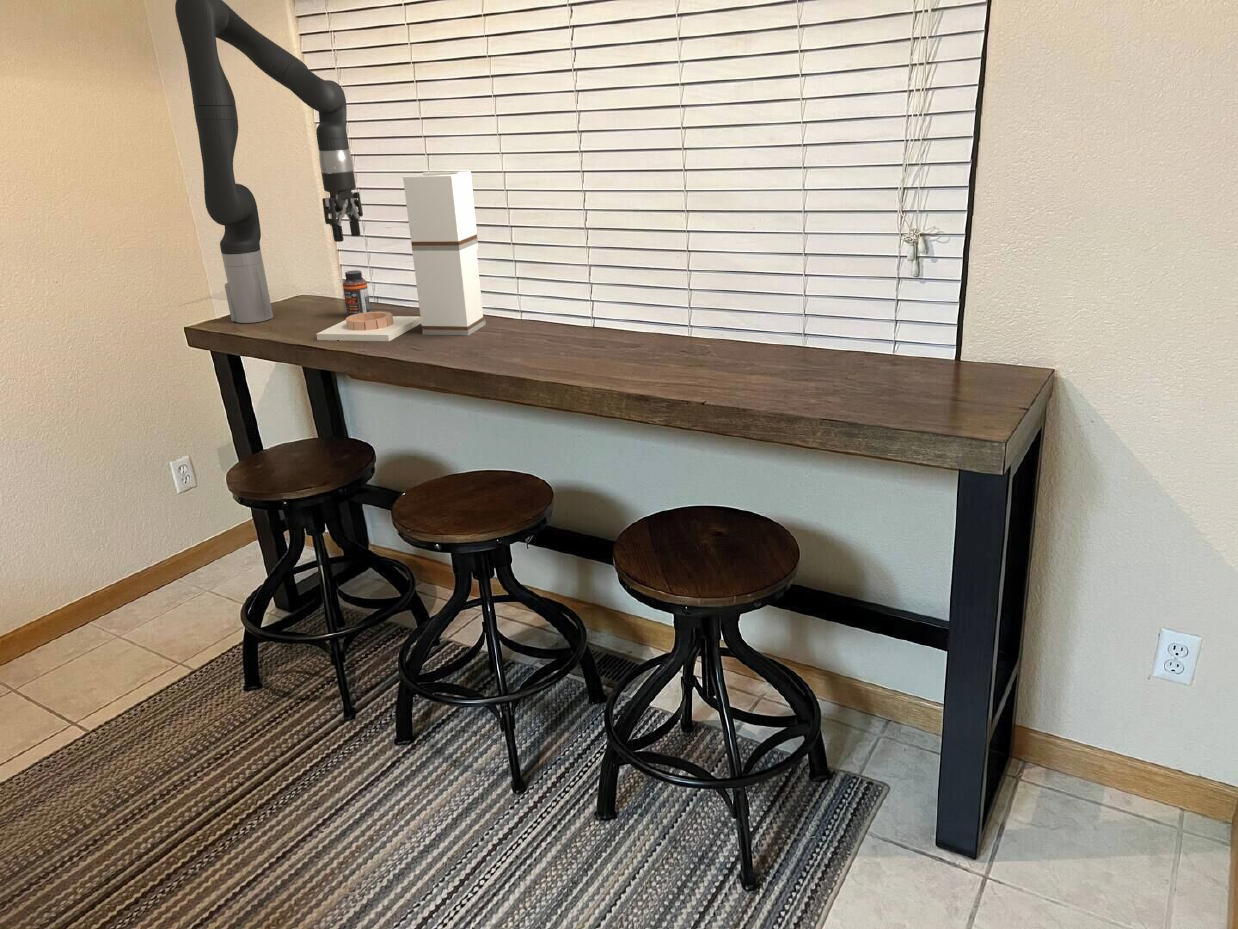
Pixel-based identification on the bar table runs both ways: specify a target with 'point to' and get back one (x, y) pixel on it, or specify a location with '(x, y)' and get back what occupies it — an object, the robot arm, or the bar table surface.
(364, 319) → the collar mount
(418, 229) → the white striped pillar
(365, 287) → the supplement bottle
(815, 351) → the bar table surface
